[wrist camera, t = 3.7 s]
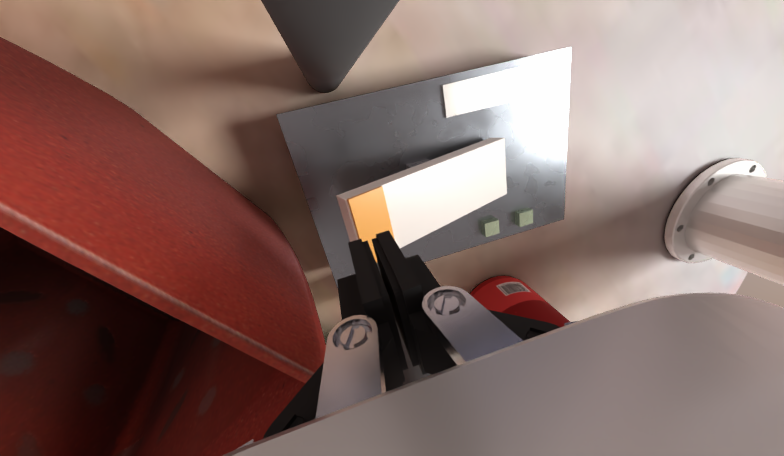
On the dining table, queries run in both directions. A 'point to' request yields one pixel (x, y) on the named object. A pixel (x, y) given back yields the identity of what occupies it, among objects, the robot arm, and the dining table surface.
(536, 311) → the canned food
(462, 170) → the paddle
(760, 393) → the robot arm
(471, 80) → the breaker panel
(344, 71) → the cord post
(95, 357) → the plant pot
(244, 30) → the dining table surface
